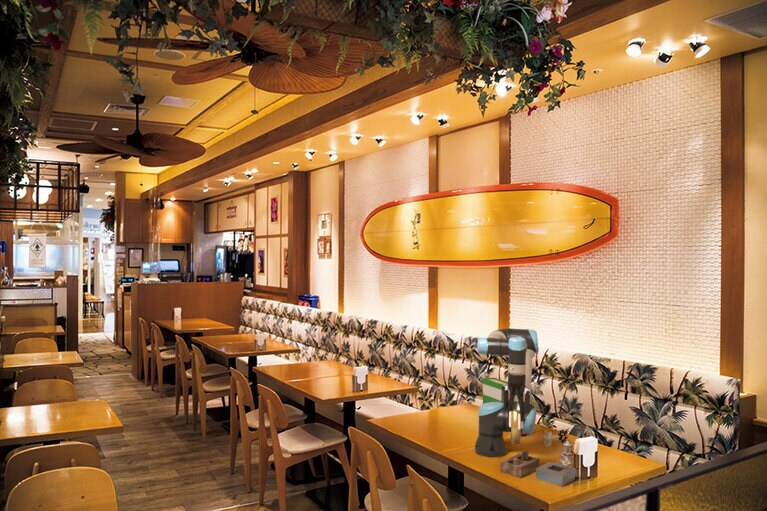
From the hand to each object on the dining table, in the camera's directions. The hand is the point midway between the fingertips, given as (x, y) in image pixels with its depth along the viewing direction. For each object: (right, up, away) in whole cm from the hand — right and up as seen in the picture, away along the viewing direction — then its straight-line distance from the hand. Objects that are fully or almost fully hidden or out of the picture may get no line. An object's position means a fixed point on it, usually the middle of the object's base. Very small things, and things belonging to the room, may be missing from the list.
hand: (515, 427), depth 258 cm
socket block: (+15, -20, -6) cm, 26 cm away
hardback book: (+6, -20, +77) cm, 80 cm away
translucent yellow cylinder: (0, -7, 0) cm, 7 cm away
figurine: (+25, -21, +8) cm, 33 cm away
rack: (+2, -20, +3) cm, 20 cm away
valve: (+29, -21, +42) cm, 55 cm away
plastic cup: (+15, -21, +56) cm, 61 cm away
